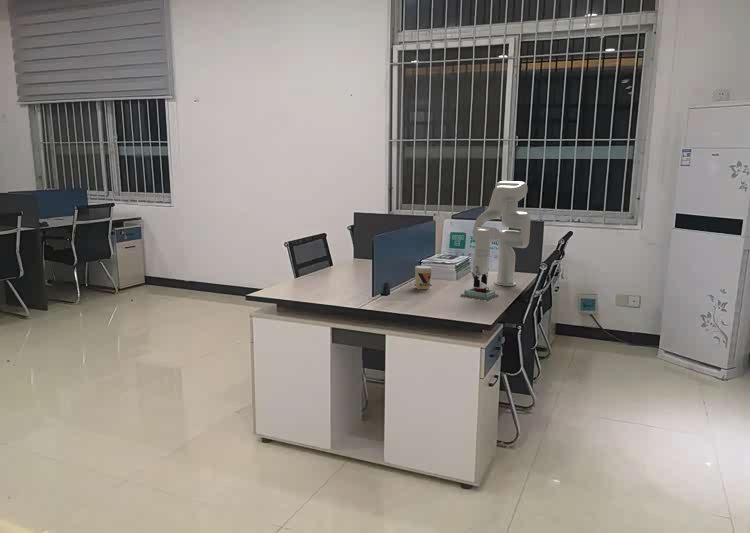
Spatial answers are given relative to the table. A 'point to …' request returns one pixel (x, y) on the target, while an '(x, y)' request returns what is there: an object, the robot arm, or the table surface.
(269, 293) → the table surface
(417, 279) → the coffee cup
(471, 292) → the holder board
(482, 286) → the cocoa
